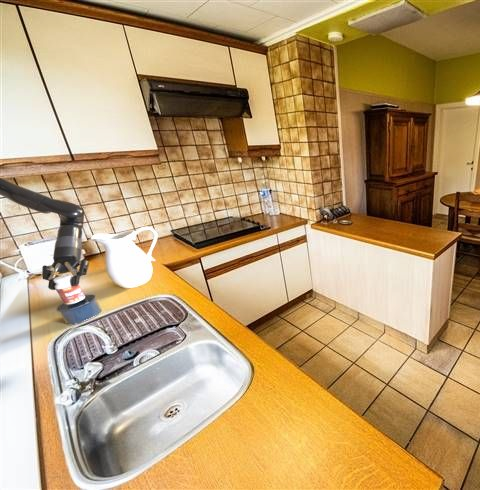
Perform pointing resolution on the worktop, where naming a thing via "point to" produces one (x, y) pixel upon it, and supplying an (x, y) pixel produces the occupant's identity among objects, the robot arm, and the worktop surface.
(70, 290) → the pill bottle
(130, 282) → the pitcher
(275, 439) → the worktop surface
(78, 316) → the crock
